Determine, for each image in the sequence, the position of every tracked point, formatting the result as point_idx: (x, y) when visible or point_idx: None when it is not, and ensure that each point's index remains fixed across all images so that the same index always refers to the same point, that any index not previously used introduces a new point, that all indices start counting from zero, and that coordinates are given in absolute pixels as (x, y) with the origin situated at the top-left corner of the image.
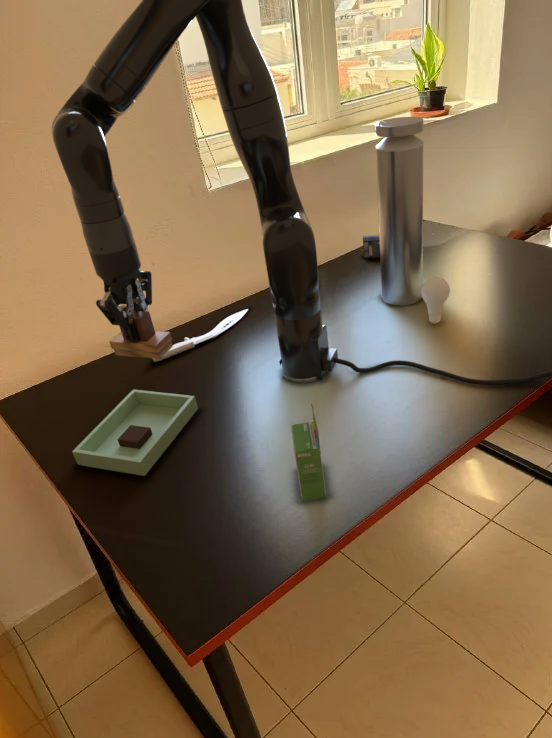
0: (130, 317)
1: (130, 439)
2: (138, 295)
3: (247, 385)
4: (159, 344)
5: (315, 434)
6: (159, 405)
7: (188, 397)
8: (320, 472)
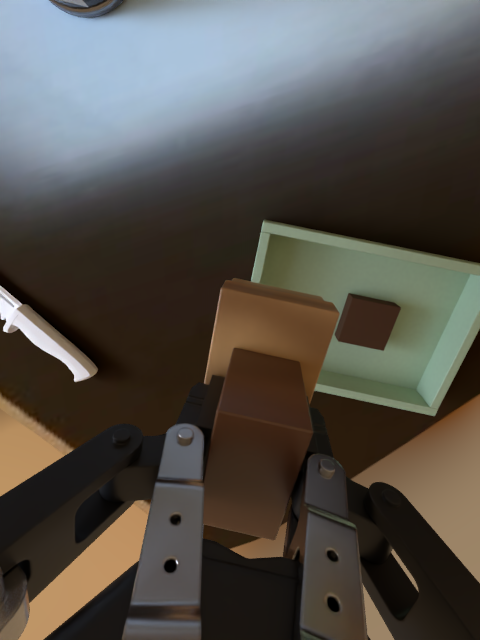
0: (331, 486)
1: (388, 325)
2: (201, 545)
3: (161, 120)
4: (315, 305)
5: None
6: None
7: (269, 235)
8: None
